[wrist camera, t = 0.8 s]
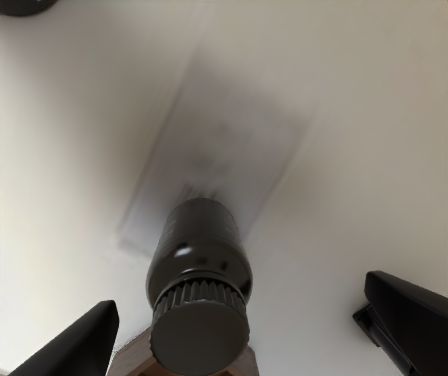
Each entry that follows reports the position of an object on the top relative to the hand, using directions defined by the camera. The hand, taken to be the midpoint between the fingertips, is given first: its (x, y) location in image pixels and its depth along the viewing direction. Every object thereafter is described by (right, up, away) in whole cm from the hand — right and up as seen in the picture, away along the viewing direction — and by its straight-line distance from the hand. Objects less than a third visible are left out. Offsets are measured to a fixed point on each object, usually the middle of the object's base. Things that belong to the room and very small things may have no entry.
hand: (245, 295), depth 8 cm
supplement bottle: (-3, 0, +14) cm, 14 cm away
